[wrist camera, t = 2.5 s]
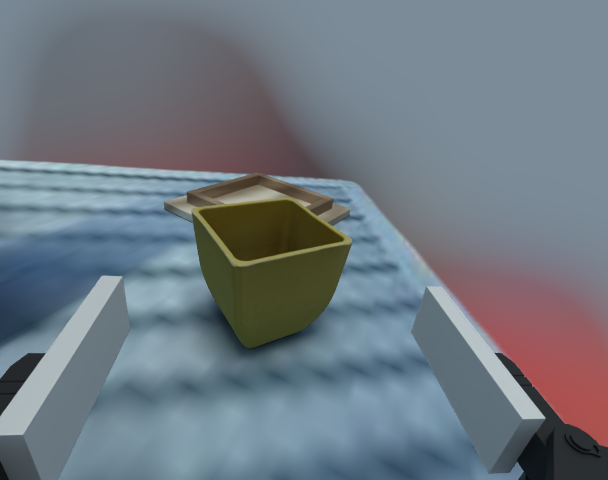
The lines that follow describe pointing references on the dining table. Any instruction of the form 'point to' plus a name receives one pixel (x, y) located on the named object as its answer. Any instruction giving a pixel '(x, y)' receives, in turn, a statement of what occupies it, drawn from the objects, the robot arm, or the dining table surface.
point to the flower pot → (268, 265)
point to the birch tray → (256, 197)
